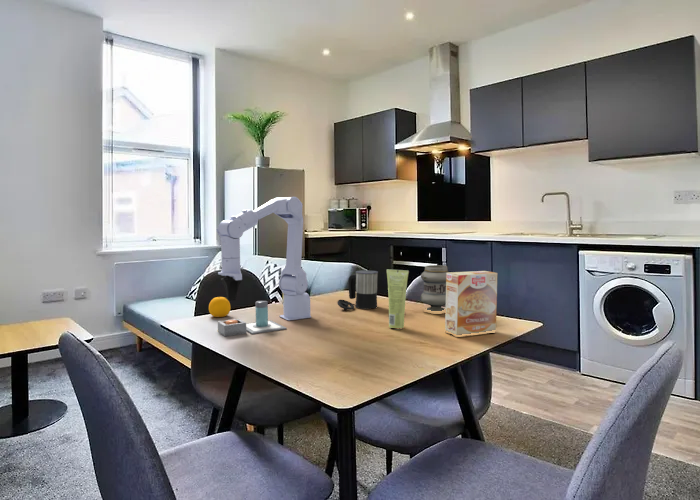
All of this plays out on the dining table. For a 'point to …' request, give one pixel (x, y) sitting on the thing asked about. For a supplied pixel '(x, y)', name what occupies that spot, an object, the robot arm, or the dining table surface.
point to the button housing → (232, 328)
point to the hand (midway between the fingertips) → (231, 300)
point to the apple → (219, 307)
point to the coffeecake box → (471, 302)
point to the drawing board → (271, 327)
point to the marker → (261, 313)
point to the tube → (397, 296)
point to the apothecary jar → (434, 286)
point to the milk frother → (361, 290)
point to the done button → (231, 322)
